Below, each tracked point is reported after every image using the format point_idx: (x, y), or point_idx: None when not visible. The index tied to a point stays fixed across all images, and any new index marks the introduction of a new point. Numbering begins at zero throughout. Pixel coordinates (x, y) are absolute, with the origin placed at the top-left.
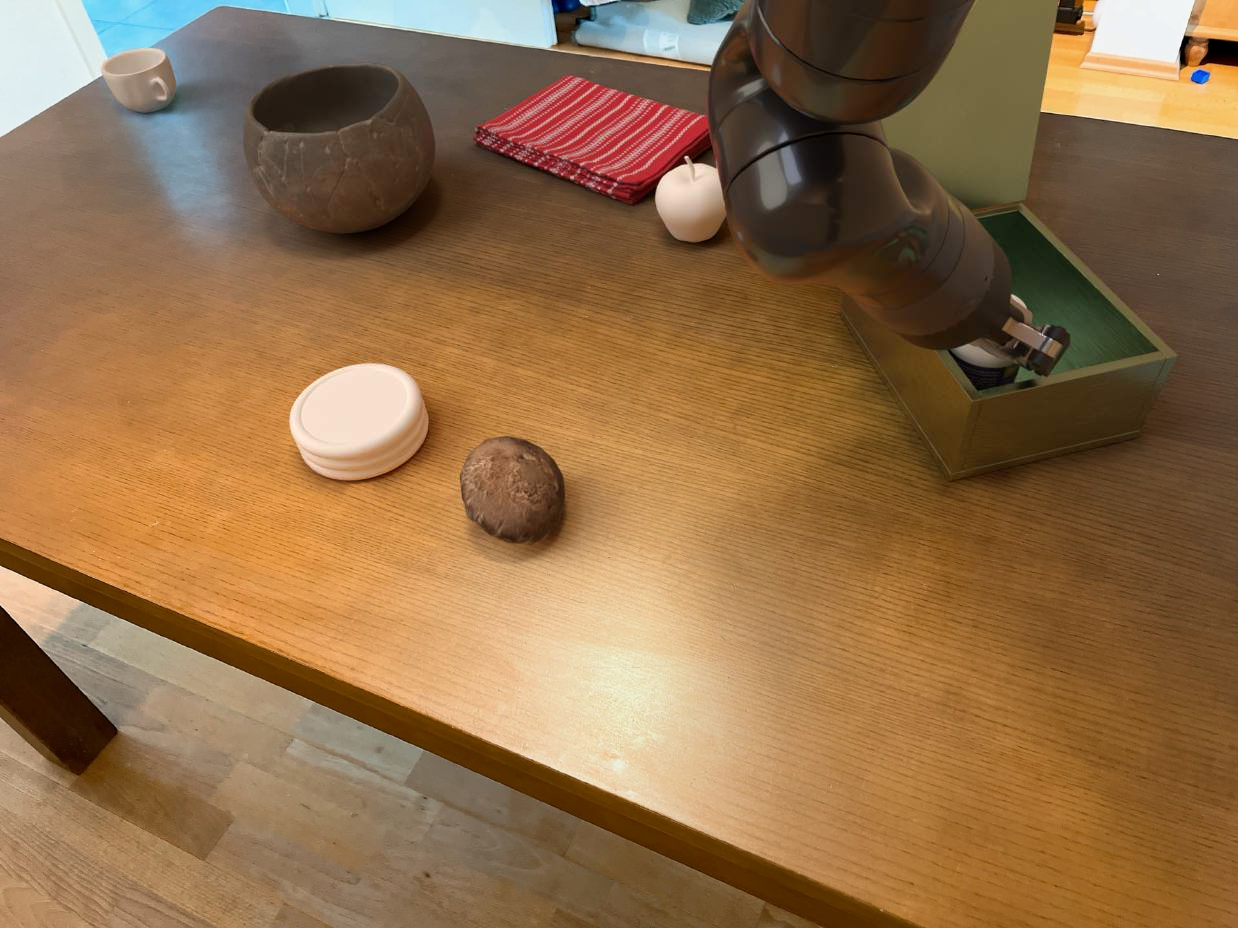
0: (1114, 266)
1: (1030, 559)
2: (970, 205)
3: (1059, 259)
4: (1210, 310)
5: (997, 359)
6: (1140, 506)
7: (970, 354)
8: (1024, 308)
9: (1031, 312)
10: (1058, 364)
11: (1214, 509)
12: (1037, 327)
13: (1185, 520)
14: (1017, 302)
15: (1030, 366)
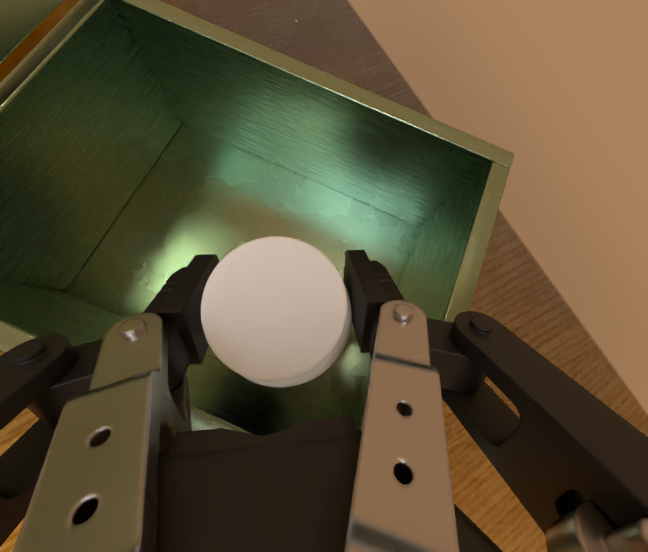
0: (259, 31)
1: (478, 452)
2: (9, 25)
3: (242, 64)
4: (359, 38)
5: (337, 355)
6: (486, 302)
7: (294, 384)
8: (440, 416)
9: (437, 374)
10: (319, 195)
11: (521, 256)
12: (427, 343)
13: (517, 287)
14: (449, 480)
15: (466, 427)
